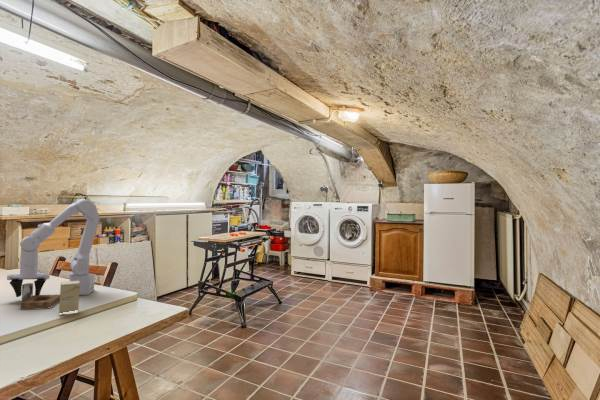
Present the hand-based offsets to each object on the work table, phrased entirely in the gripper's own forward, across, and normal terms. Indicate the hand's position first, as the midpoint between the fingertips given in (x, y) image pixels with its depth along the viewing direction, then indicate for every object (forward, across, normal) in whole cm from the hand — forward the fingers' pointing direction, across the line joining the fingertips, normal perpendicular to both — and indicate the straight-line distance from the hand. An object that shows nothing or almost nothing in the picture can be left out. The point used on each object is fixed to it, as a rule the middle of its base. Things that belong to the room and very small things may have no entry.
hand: (28, 296), depth 137 cm
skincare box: (+2, -22, +17) cm, 28 cm away
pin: (+2, 0, 0) cm, 2 cm away
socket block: (+2, -8, +6) cm, 10 cm away
